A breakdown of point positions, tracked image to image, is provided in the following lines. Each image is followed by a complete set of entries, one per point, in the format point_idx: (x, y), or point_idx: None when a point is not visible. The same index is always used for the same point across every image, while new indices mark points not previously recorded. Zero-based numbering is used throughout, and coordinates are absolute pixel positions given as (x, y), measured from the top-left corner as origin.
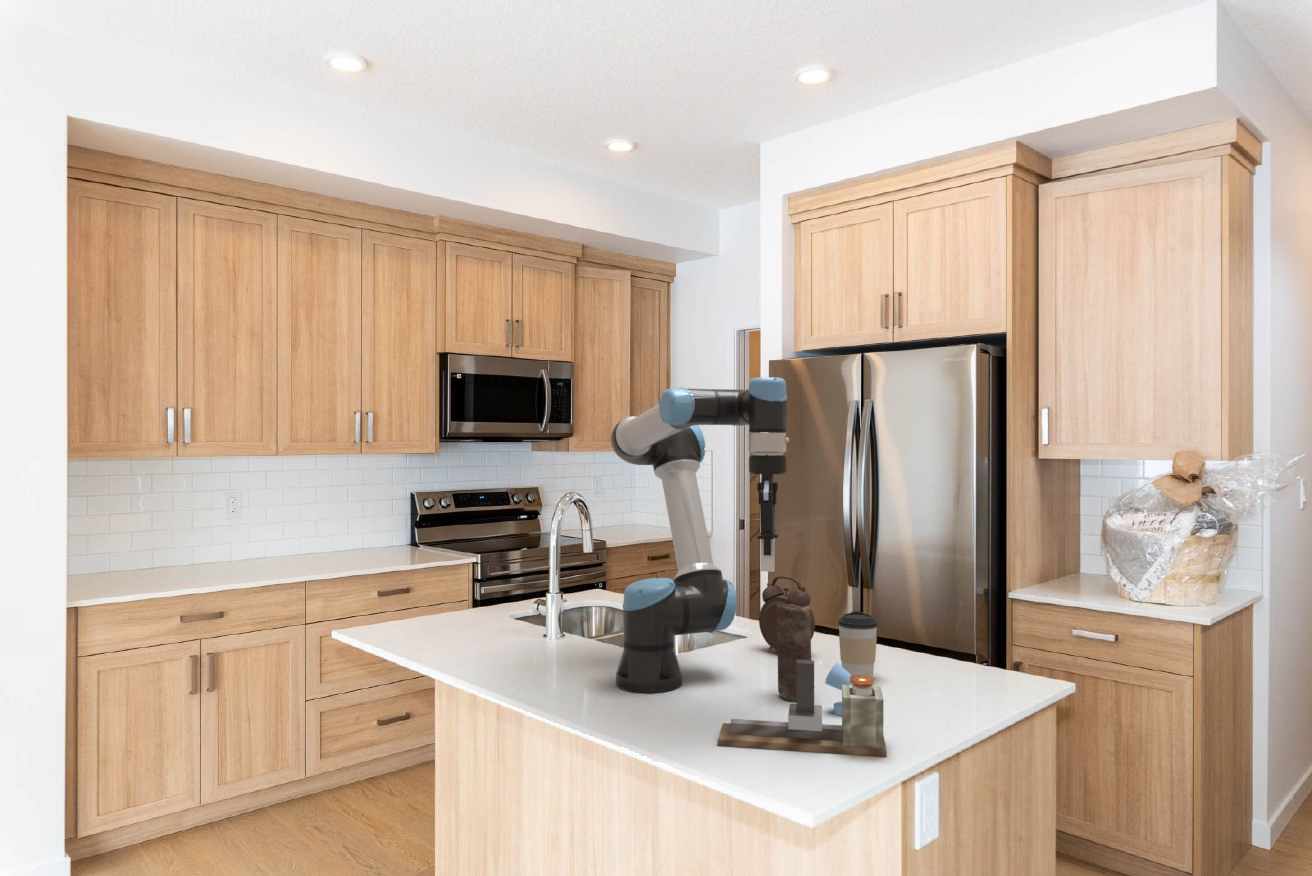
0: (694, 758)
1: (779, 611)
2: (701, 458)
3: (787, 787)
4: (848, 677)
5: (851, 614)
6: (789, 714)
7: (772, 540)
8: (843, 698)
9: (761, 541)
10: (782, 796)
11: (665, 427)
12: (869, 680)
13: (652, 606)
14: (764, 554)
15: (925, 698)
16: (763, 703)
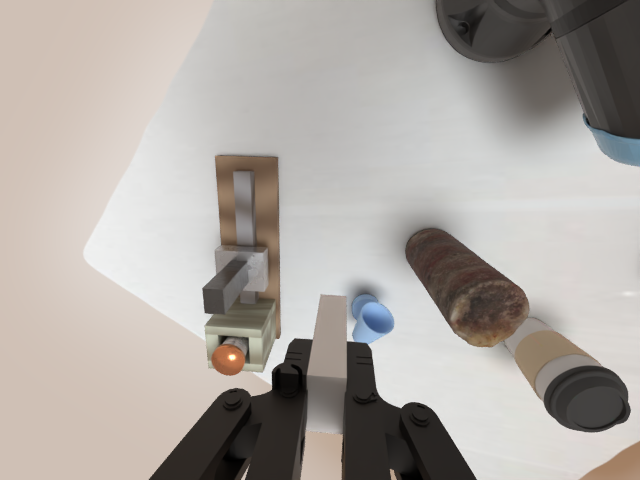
0: (171, 130)
1: (470, 280)
2: None
3: (127, 236)
4: (360, 336)
5: (622, 401)
6: (218, 251)
7: (307, 419)
8: (205, 325)
9: (308, 369)
10: (105, 231)
11: None
12: (217, 368)
13: None
14: (293, 343)
15: (433, 397)
16: (396, 207)
